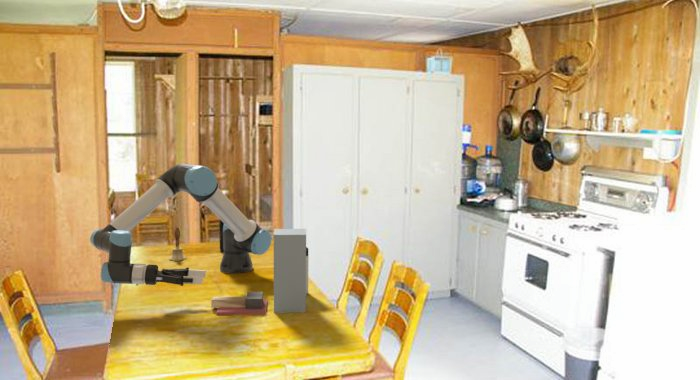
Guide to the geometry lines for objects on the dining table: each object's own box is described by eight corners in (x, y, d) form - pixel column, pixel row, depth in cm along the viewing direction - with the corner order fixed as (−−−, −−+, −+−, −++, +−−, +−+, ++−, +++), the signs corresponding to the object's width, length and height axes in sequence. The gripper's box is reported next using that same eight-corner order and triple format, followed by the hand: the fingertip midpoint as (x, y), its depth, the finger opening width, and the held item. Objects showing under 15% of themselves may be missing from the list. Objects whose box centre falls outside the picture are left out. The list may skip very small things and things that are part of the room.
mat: (221, 302, 225) (221, 300, 225) (267, 302, 227) (267, 299, 227) (216, 314, 213) (216, 312, 212) (265, 314, 214) (265, 311, 214)
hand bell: (173, 256, 291) (172, 225, 288) (189, 257, 290) (188, 226, 287) (166, 260, 283) (165, 228, 280) (182, 261, 282) (181, 229, 279)
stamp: (213, 302, 223) (213, 292, 222) (263, 301, 225) (262, 291, 224) (210, 309, 215) (210, 299, 214) (261, 309, 217) (261, 298, 216)
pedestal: (274, 303, 226) (274, 228, 221) (305, 302, 227) (305, 228, 222) (273, 312, 216) (273, 234, 211) (305, 312, 217) (306, 234, 212)
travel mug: (301, 290, 242) (301, 244, 239) (311, 294, 237) (311, 247, 234) (289, 293, 238) (289, 246, 235) (299, 297, 233) (299, 249, 230)
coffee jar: (216, 252, 299) (215, 218, 296) (224, 247, 309) (223, 214, 306) (236, 253, 297) (235, 219, 294) (243, 248, 308) (242, 215, 305)
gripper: (151, 278, 227) (206, 280, 231) (138, 291, 202) (200, 294, 206) (152, 259, 227) (207, 262, 230) (140, 270, 202) (201, 273, 206)
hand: (204, 277), depth 218 cm, fingers open, 13 cm apart
